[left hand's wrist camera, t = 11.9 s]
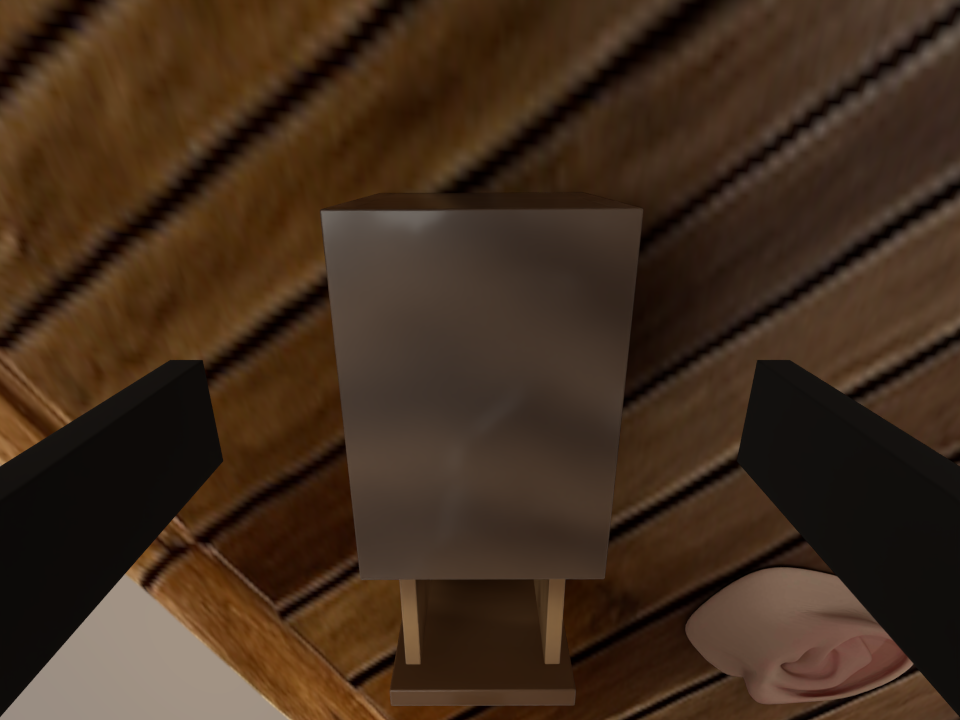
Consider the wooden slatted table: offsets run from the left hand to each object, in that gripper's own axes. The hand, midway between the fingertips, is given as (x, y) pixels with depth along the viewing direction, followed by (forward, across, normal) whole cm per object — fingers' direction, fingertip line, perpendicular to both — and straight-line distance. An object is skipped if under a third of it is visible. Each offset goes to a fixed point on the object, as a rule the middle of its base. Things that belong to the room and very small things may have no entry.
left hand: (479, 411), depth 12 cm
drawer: (+17, 0, -17) cm, 24 cm away
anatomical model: (+18, +22, -27) cm, 39 cm away
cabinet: (+18, 0, -4) cm, 18 cm away
